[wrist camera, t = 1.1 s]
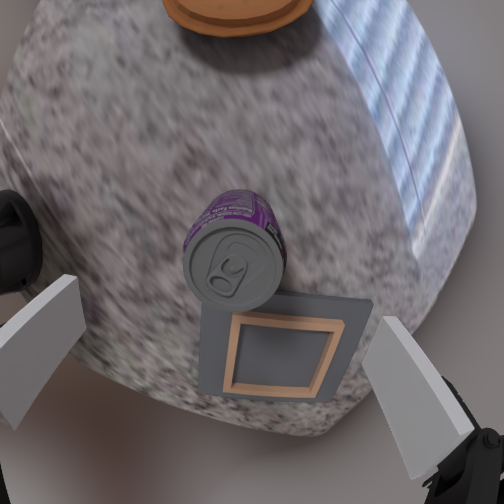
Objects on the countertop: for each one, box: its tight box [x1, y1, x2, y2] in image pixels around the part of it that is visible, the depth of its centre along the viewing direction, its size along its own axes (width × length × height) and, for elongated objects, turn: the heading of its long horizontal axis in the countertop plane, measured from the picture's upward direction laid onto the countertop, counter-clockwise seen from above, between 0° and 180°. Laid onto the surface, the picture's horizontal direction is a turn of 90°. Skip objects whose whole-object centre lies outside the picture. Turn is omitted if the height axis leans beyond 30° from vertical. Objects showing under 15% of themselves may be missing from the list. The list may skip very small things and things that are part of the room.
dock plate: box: [198, 290, 373, 402], centre depth 32 cm, size 20×18×2 cm
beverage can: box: [183, 190, 287, 312], centre depth 22 cm, size 7×7×12 cm
